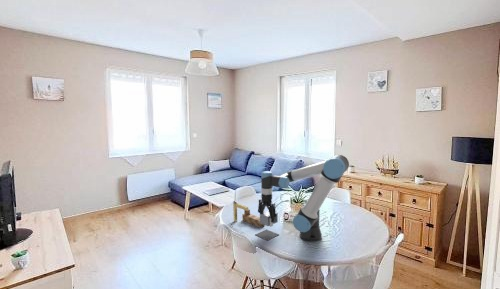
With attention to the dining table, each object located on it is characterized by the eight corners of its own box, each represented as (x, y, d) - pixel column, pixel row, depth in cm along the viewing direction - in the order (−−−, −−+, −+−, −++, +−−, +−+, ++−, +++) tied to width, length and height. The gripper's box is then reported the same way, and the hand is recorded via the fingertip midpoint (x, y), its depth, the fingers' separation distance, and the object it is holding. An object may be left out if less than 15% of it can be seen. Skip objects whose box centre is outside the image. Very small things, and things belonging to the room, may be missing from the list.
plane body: (264, 225, 205) (264, 214, 204) (260, 227, 202) (260, 216, 201) (247, 218, 220) (246, 207, 219) (242, 220, 216) (242, 209, 215)
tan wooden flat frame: (249, 225, 205) (248, 205, 203) (246, 226, 203) (246, 206, 201) (235, 220, 216) (235, 200, 214) (233, 220, 214) (232, 201, 212)
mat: (278, 234, 189) (278, 234, 189) (267, 240, 181) (267, 240, 181) (266, 229, 198) (266, 229, 198) (255, 235, 190) (255, 234, 190)
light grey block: (268, 226, 184) (268, 216, 183) (259, 222, 189) (259, 213, 188) (277, 222, 191) (277, 212, 190) (269, 218, 196) (269, 209, 195)
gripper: (281, 195, 181) (281, 227, 184) (259, 189, 196) (259, 218, 199) (274, 198, 176) (274, 230, 179) (252, 191, 191) (252, 221, 194)
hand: (266, 224), depth 189 cm, fingers closed on light grey block, 8 cm apart
